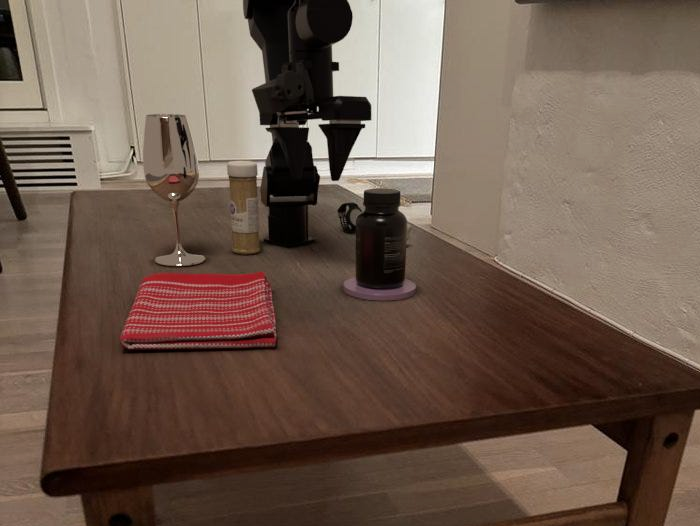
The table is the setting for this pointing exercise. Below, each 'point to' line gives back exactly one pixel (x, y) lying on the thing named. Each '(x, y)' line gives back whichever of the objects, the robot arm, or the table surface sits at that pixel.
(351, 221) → the smartwatch
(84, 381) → the table surface
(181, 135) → the wineglass
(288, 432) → the table surface
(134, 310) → the dish towel
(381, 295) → the saucer
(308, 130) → the robot arm
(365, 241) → the supplement bottle
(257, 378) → the table surface
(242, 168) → the sprinkles bottle
